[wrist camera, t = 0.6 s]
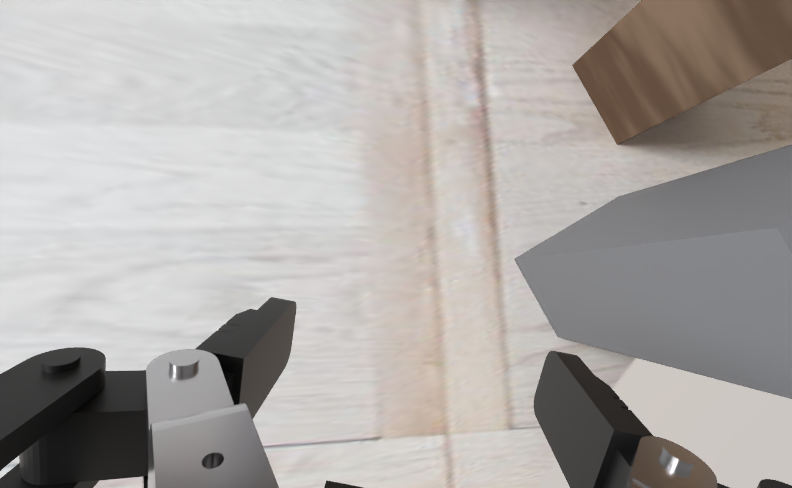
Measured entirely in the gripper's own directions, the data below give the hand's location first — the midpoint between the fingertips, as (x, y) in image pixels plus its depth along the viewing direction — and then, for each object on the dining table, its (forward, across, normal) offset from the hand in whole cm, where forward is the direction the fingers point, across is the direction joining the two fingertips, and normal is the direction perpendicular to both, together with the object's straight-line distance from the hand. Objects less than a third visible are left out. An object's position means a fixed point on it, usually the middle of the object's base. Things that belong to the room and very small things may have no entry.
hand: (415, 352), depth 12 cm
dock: (+28, -19, +1) cm, 34 cm away
